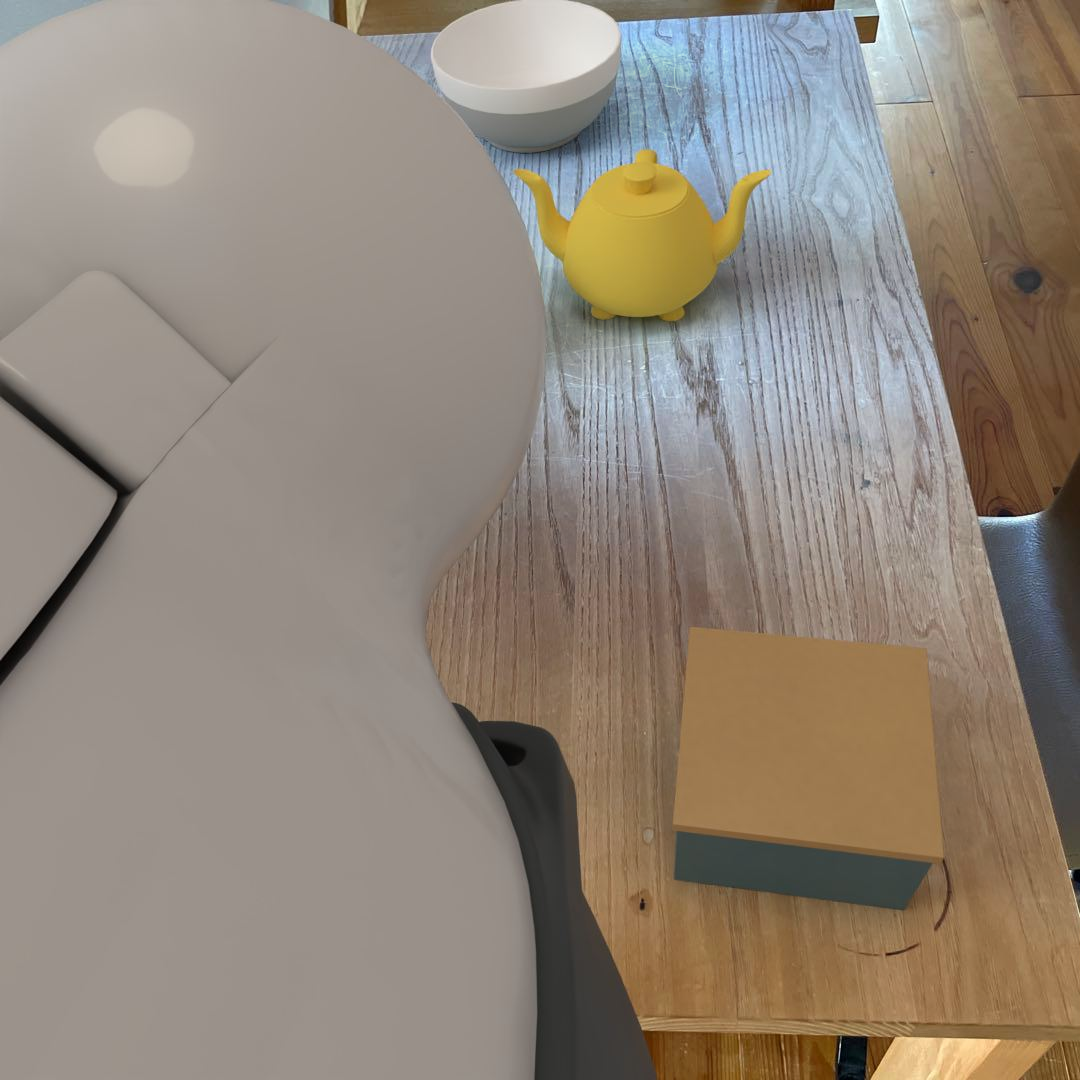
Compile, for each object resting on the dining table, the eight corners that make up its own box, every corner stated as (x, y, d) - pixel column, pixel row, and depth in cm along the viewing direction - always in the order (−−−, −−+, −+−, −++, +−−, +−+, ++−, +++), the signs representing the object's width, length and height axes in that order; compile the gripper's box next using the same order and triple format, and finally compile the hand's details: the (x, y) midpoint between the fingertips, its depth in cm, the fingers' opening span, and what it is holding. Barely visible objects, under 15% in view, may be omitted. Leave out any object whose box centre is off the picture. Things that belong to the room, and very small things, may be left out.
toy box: (908, 915, 52) (944, 858, 45) (669, 883, 54) (672, 824, 48) (896, 720, 59) (926, 647, 52) (685, 698, 61) (689, 626, 54)
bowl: (625, 169, 98) (624, 82, 91) (436, 180, 99) (420, 96, 92) (621, 75, 109) (619, -9, 103) (451, 86, 111) (439, 5, 104)
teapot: (759, 235, 89) (772, 112, 80) (757, 344, 80) (771, 219, 71) (540, 232, 92) (528, 113, 83) (514, 336, 83) (498, 216, 74)
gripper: (256, 316, 53) (342, 339, 66) (-94, 317, 55) (58, 338, 69) (258, 436, 53) (343, 434, 67) (-87, 431, 56) (62, 430, 70)
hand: (196, 385), depth 68 cm, fingers closed
